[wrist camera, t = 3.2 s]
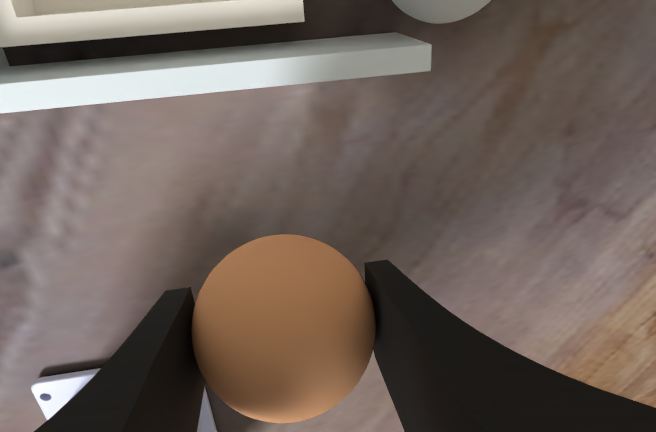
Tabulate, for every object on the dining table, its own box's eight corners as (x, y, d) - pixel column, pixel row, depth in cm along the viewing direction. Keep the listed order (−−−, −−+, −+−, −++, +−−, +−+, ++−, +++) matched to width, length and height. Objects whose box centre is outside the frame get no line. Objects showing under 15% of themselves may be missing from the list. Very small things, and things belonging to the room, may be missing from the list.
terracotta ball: (358, 321, 14) (396, 449, 10) (217, 341, 14) (201, 481, 10) (354, 195, 12) (398, 294, 8) (187, 214, 12) (152, 328, 8)
